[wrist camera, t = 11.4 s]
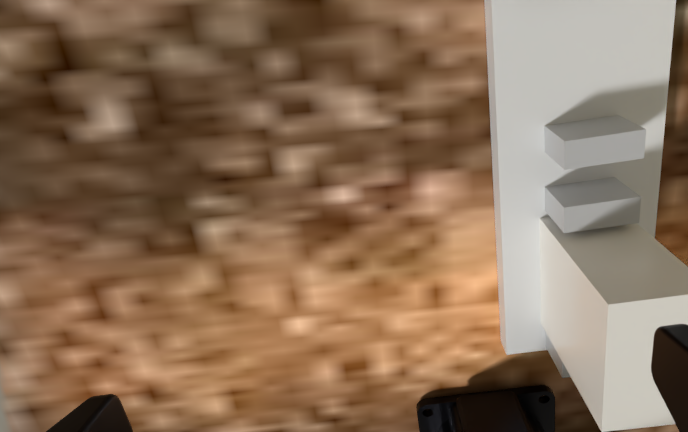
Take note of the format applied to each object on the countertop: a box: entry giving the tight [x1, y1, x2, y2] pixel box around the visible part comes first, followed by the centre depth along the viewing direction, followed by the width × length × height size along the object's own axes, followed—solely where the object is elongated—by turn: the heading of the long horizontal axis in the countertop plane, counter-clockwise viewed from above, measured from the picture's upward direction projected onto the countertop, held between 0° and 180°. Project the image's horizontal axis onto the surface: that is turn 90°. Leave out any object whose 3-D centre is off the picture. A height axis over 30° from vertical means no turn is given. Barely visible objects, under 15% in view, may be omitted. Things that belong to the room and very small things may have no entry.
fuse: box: [540, 217, 688, 432], centre depth 19 cm, size 5×3×6 cm, turn 9°
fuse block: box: [484, 0, 676, 378], centre depth 18 cm, size 26×6×3 cm, turn 9°
